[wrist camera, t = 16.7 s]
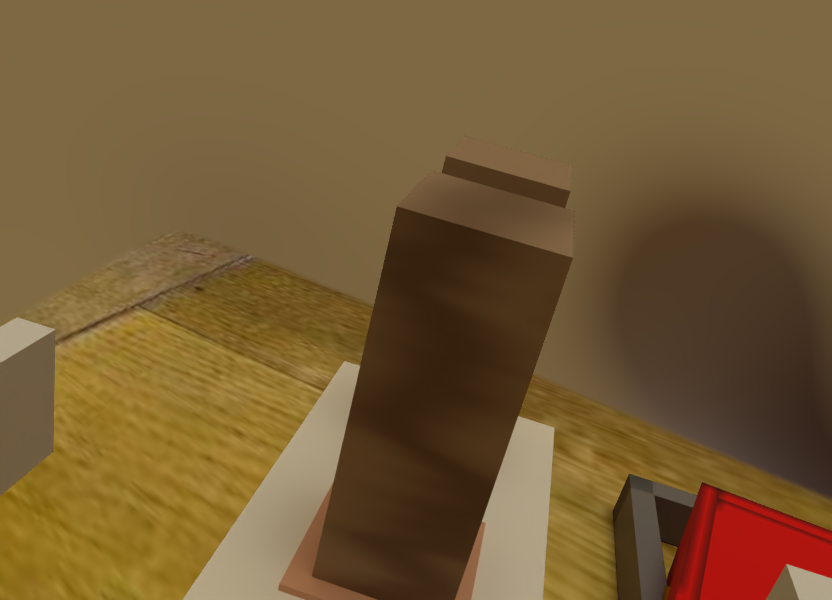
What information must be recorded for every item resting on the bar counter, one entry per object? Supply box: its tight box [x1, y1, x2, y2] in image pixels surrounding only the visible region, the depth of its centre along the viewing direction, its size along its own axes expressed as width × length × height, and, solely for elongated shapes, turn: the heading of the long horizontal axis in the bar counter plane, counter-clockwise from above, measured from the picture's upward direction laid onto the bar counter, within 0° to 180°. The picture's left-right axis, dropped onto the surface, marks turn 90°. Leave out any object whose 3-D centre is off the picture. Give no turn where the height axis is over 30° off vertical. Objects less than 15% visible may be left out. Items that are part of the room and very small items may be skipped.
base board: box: [183, 136, 572, 600], centre depth 29 cm, size 12×18×17 cm, turn 167°
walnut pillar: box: [312, 170, 575, 600], centre depth 25 cm, size 5×5×14 cm
